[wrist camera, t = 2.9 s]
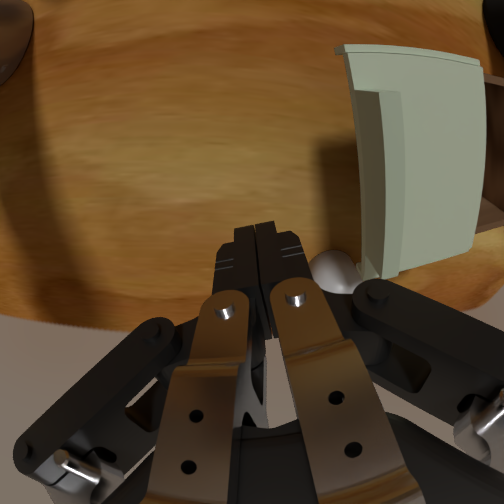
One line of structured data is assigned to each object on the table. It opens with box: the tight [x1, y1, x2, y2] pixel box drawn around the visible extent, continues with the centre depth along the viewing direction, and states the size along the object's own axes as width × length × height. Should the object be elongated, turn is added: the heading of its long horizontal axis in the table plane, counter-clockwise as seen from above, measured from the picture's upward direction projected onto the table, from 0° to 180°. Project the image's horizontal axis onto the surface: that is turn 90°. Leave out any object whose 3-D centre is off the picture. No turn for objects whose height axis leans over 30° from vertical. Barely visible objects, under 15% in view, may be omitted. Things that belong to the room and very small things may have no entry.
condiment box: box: [475, 73, 504, 234], centre depth 15 cm, size 12×9×7 cm
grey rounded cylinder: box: [308, 250, 363, 294], centre depth 24 cm, size 5×5×5 cm
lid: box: [334, 44, 486, 281], centre depth 12 cm, size 14×9×4 cm
